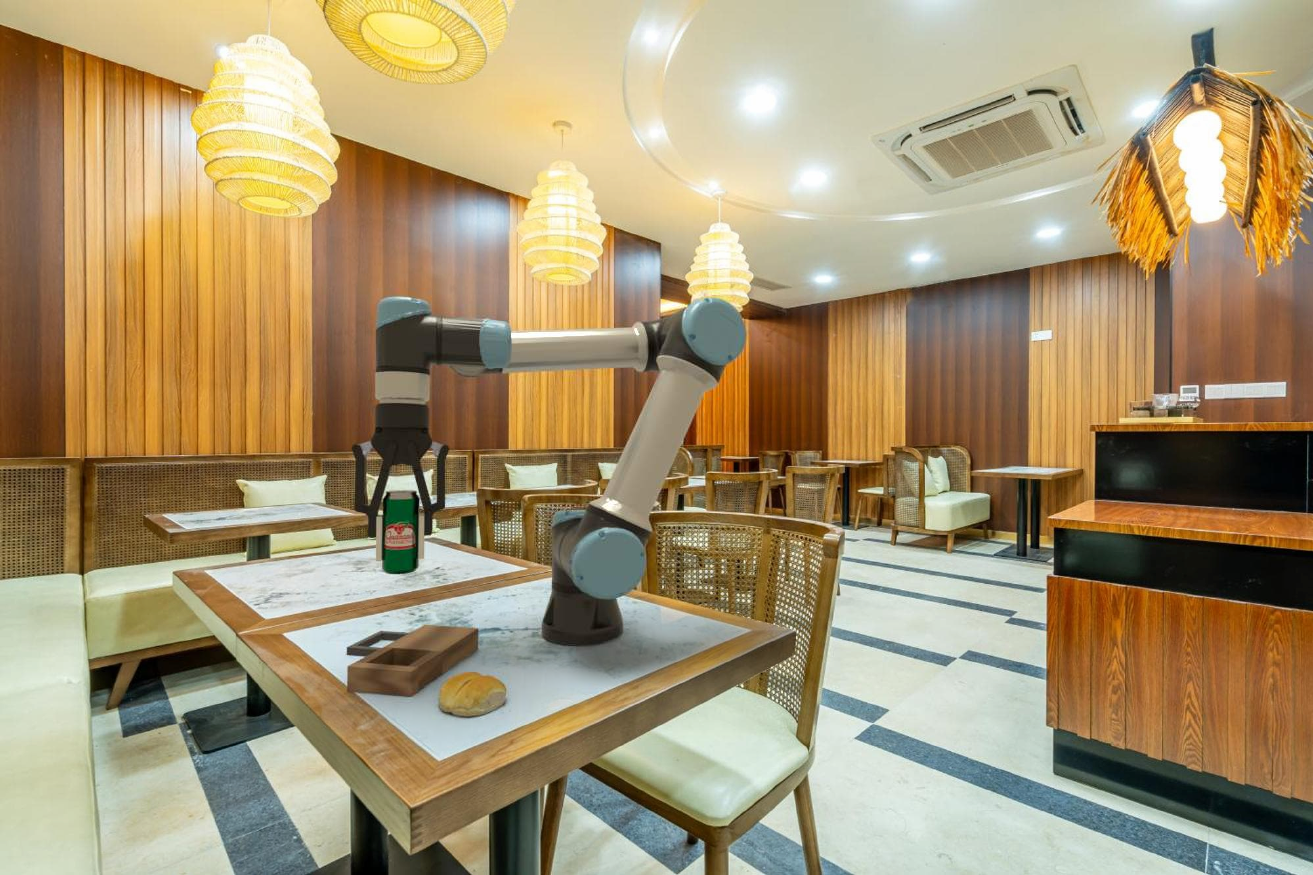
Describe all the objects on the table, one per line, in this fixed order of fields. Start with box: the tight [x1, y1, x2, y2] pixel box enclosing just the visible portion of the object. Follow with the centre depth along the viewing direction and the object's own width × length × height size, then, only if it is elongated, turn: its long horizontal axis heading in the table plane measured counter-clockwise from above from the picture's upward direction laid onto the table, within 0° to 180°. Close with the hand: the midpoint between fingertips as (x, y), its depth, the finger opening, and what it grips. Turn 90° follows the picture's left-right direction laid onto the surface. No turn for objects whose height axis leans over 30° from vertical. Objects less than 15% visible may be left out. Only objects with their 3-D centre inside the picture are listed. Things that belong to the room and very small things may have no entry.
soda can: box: [381, 489, 421, 575], centre depth 90 cm, size 5×5×12 cm
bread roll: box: [437, 671, 508, 718], centre depth 83 cm, size 8×9×4 cm
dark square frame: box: [346, 630, 410, 657], centre depth 104 cm, size 9×9×1 cm
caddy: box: [346, 624, 479, 698], centre depth 95 cm, size 10×20×4 cm, turn 170°
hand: (400, 558), depth 90 cm, fingers closed on soda can, 5 cm apart
